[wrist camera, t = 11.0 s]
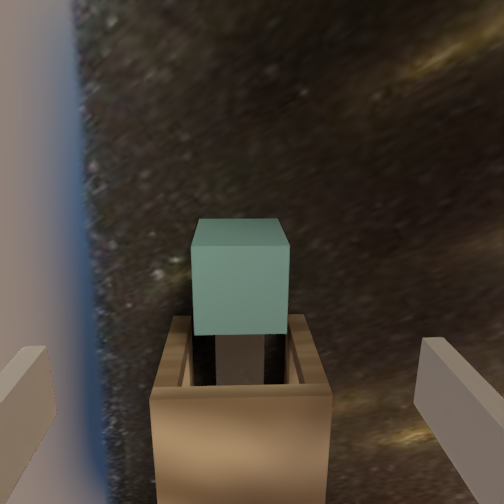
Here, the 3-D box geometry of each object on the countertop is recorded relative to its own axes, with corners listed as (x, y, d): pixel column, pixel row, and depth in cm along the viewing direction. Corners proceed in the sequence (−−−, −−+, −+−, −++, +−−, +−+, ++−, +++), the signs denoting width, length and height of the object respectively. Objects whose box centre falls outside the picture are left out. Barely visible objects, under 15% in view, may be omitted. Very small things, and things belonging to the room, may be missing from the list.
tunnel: (173, 315, 29) (149, 399, 20) (303, 313, 29) (333, 395, 21) (181, 457, 33) (163, 579, 24) (297, 454, 33) (319, 573, 25)
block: (199, 218, 27) (190, 246, 21) (277, 218, 27) (289, 245, 22) (201, 291, 29) (194, 335, 23) (275, 290, 29) (286, 333, 23)
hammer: (214, 294, 28) (207, 371, 20) (263, 293, 28) (276, 370, 20) (219, 506, 34) (215, 639, 25) (259, 505, 34) (269, 636, 26)
